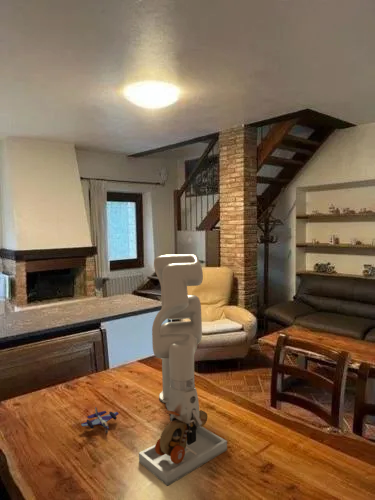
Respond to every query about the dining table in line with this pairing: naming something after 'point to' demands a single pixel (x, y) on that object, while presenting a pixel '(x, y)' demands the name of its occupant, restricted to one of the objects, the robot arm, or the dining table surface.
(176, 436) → the toy helicopter
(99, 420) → the toy airplane
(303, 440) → the dining table surface
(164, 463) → the tray
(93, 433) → the dining table surface
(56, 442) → the dining table surface
